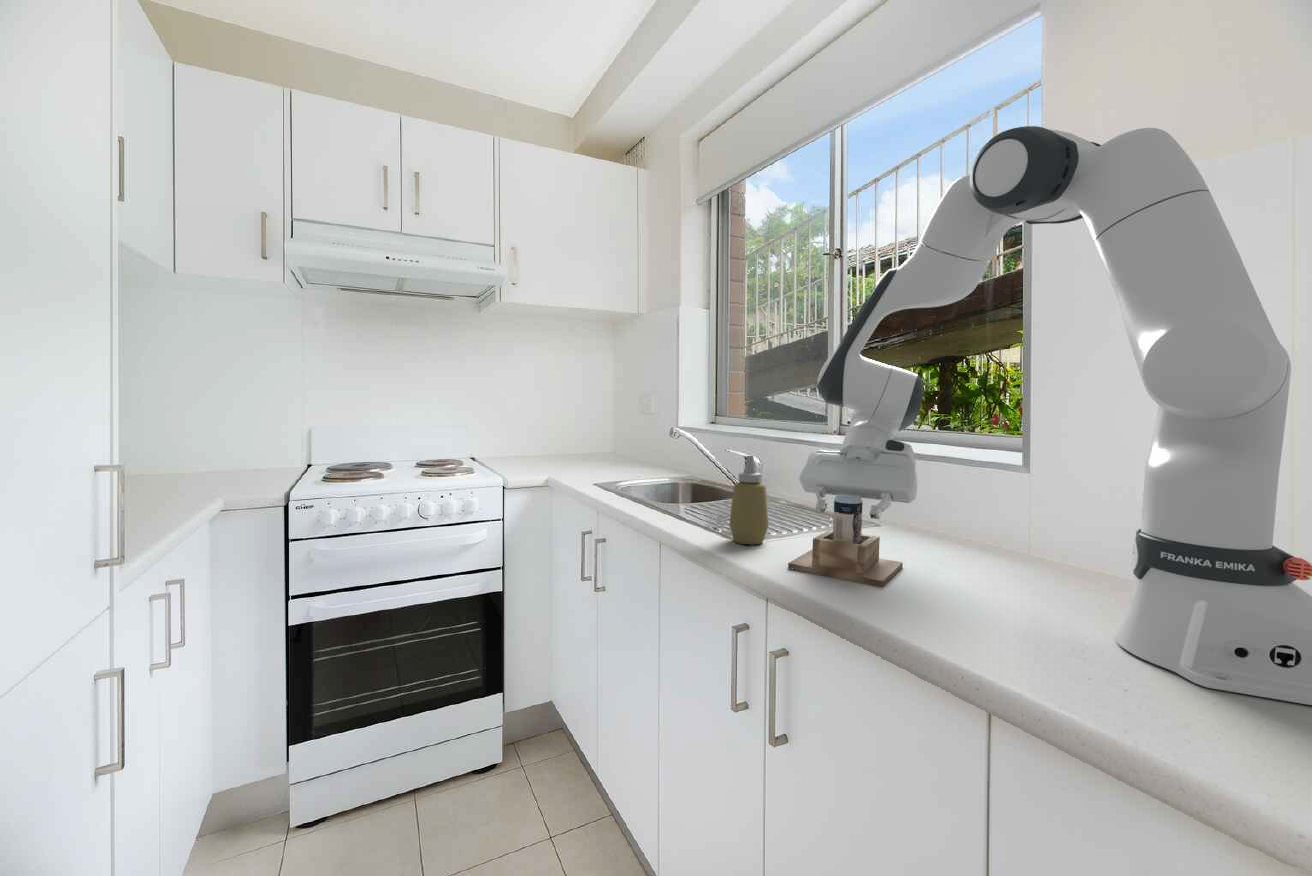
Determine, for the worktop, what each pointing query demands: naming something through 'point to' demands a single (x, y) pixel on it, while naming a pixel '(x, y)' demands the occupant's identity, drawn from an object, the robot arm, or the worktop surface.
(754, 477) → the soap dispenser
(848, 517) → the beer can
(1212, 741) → the worktop surface
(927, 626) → the worktop surface
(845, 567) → the can caddy
